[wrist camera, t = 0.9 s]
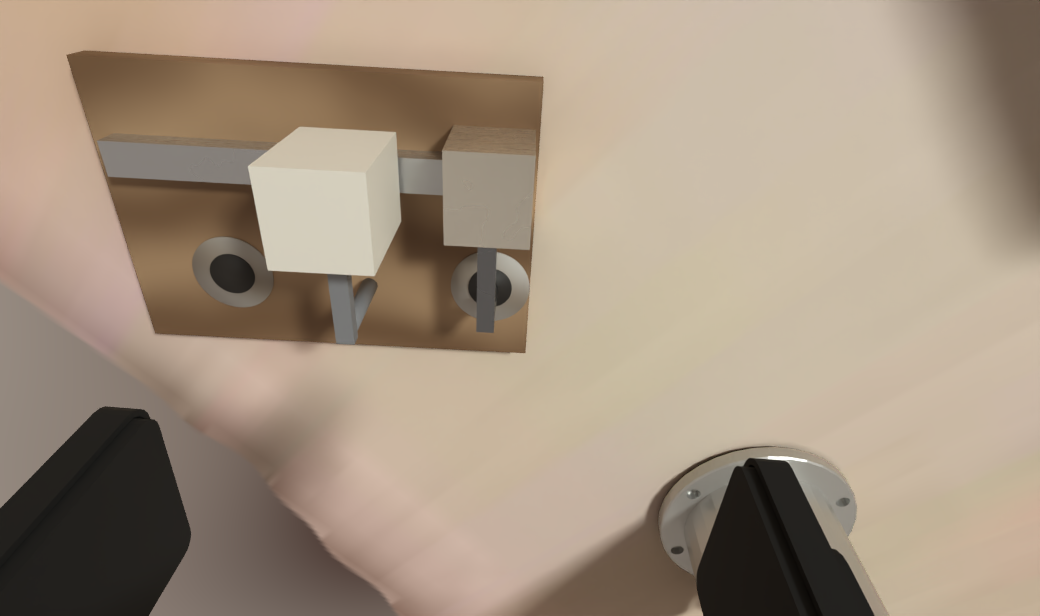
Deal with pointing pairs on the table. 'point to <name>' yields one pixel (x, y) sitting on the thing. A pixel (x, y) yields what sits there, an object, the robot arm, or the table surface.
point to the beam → (452, 173)
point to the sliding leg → (330, 211)
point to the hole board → (232, 212)
